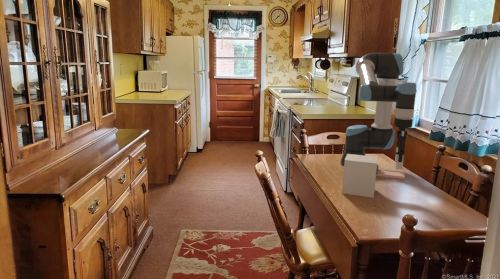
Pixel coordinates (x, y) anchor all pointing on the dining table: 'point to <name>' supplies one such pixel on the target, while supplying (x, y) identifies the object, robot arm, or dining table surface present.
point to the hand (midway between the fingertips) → (398, 165)
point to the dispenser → (359, 175)
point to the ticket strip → (390, 174)
